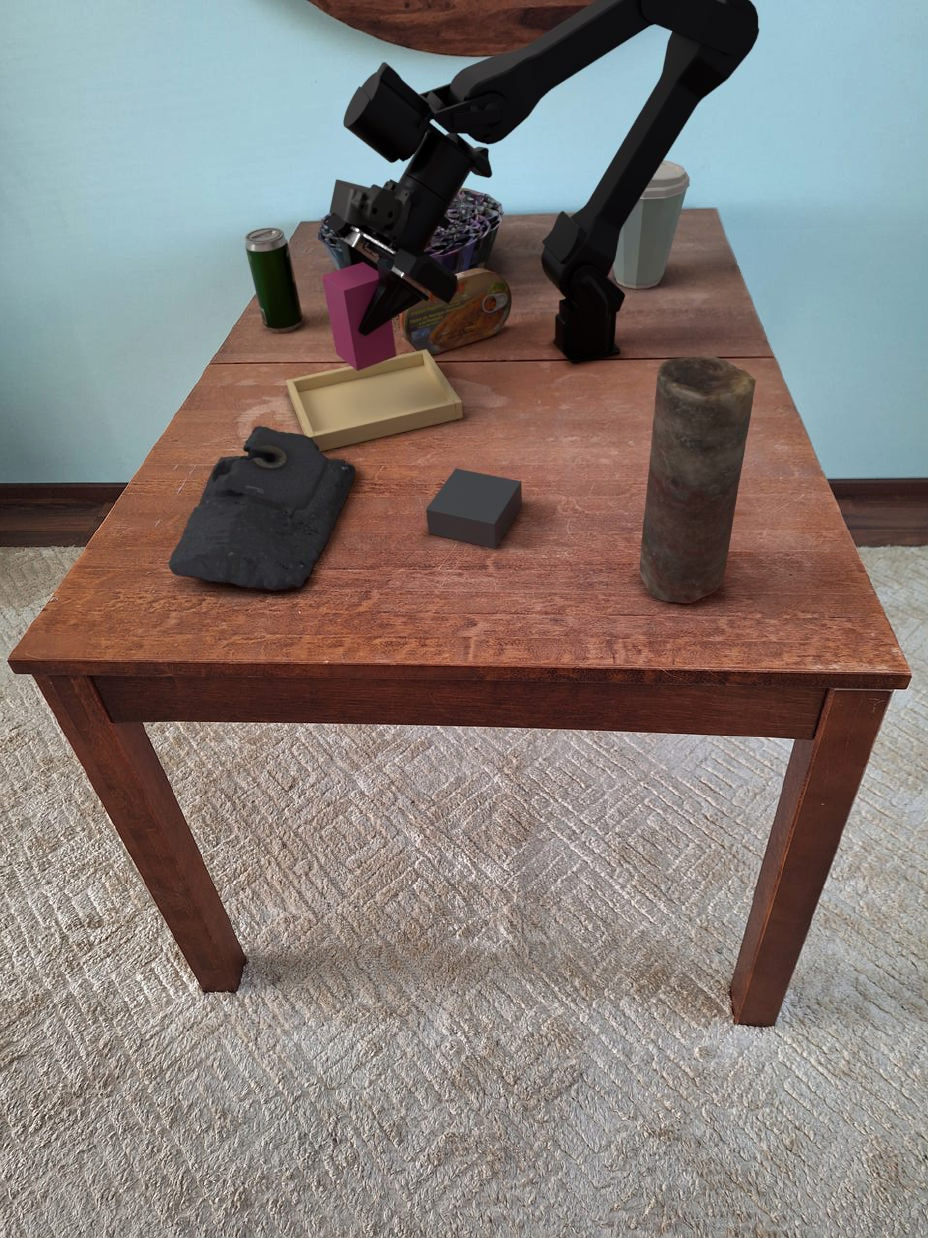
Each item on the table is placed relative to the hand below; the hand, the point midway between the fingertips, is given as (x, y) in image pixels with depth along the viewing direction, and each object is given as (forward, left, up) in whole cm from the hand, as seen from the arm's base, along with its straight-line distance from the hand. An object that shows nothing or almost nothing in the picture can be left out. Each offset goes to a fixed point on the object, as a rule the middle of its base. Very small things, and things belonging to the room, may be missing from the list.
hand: (349, 325), depth 93 cm
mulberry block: (-1, 0, -4) cm, 4 cm away
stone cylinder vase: (-19, +40, -11) cm, 45 cm away
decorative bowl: (-16, -33, -11) cm, 39 cm away
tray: (-1, 0, -10) cm, 11 cm away
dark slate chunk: (+15, +16, -11) cm, 24 cm away
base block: (-5, +25, -10) cm, 27 cm away
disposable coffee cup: (-44, -17, -11) cm, 49 cm away
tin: (-15, -11, -11) cm, 22 cm away
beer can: (+5, -26, -11) cm, 29 cm away
